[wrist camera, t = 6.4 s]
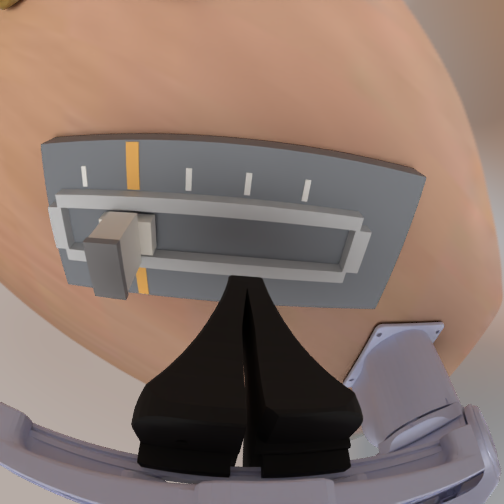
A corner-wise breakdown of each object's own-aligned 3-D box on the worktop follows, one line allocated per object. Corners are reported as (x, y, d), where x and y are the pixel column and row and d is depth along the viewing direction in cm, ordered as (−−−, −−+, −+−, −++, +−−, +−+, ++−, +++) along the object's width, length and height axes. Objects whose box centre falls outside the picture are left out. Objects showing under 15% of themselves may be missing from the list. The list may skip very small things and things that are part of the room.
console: (368, 294, 21) (378, 316, 19) (77, 270, 20) (63, 291, 18) (413, 168, 16) (433, 182, 14) (55, 137, 14) (33, 148, 12)
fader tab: (157, 254, 17) (138, 301, 13) (110, 250, 16) (84, 294, 13) (154, 205, 15) (130, 246, 12) (103, 202, 15) (70, 240, 11)
